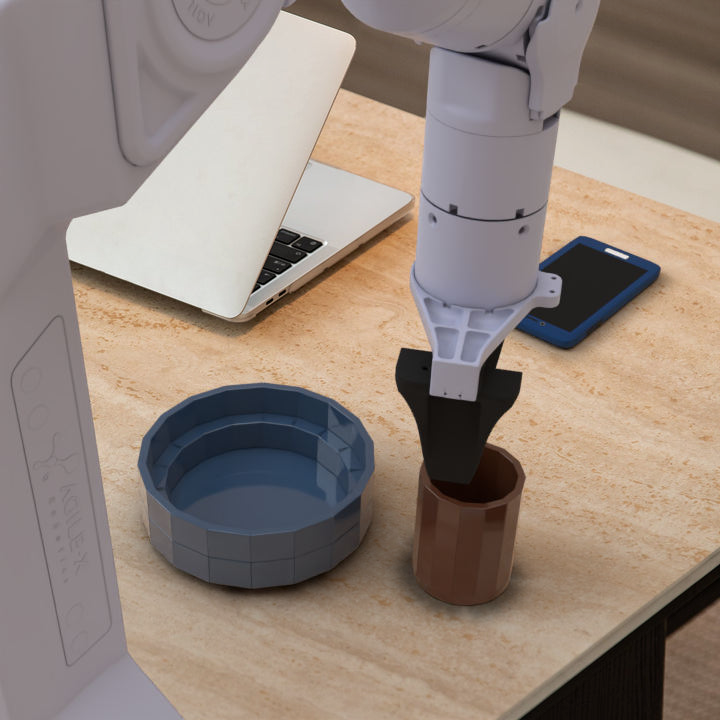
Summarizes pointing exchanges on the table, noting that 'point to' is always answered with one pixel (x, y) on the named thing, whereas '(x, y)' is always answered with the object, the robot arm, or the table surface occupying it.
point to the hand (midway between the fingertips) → (459, 428)
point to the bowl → (256, 484)
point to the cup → (469, 530)
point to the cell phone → (587, 289)
